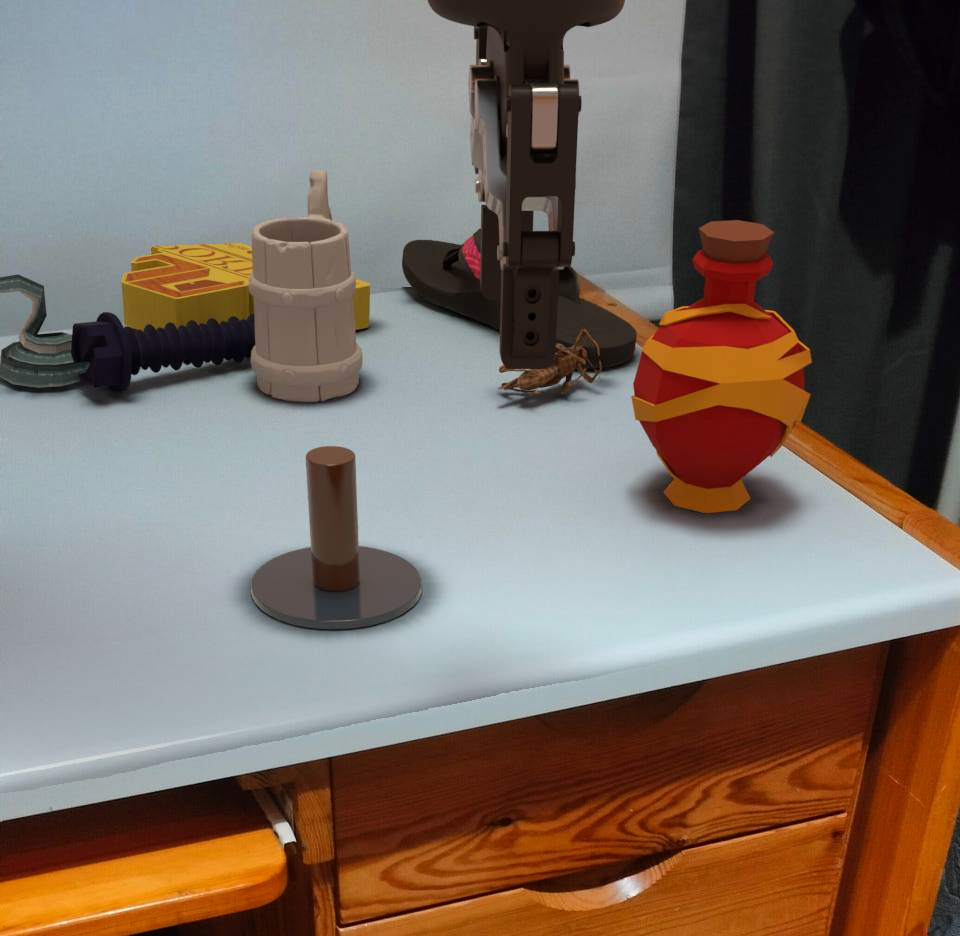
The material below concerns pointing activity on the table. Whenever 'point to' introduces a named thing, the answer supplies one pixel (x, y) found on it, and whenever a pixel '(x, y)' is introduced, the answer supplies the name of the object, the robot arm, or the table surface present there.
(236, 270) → the decorative sign
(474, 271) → the sandal
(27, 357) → the stylized snake
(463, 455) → the table surface
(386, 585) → the lid
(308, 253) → the mug
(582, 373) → the insect
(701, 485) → the potion bottle
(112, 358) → the screw
